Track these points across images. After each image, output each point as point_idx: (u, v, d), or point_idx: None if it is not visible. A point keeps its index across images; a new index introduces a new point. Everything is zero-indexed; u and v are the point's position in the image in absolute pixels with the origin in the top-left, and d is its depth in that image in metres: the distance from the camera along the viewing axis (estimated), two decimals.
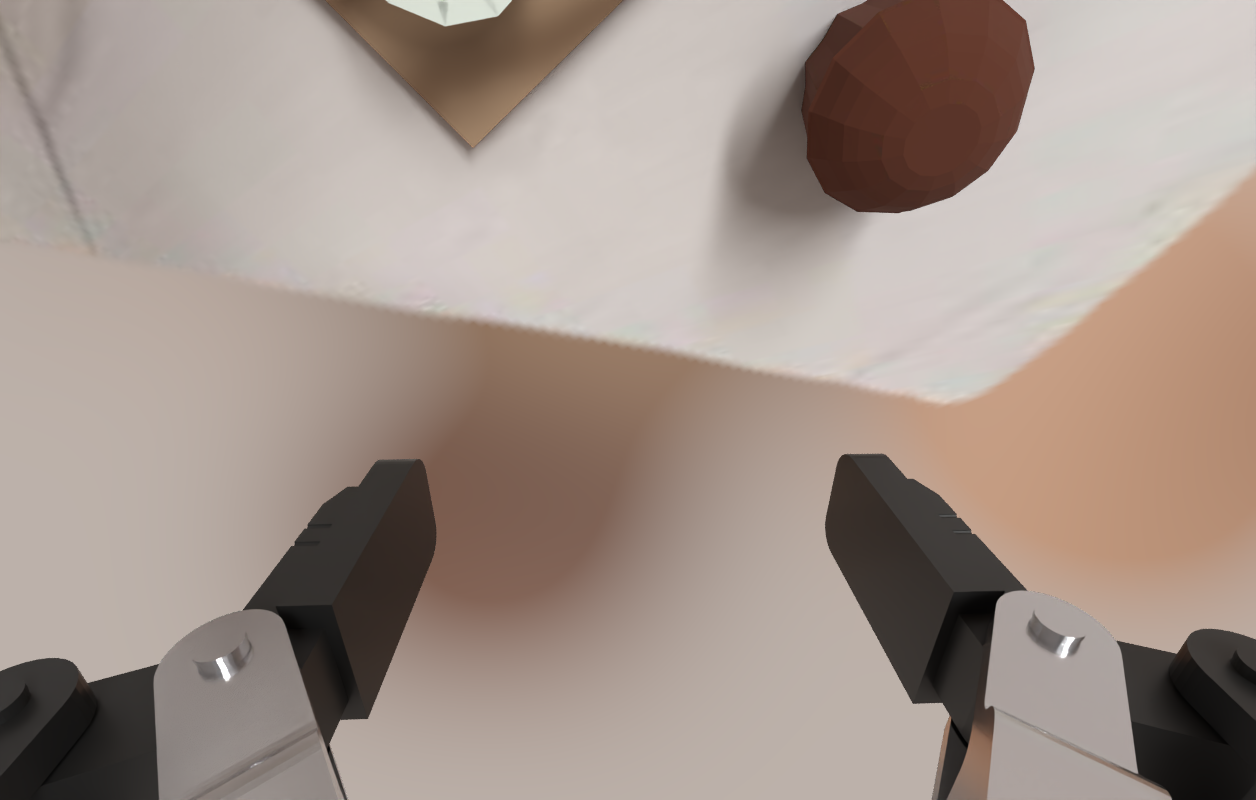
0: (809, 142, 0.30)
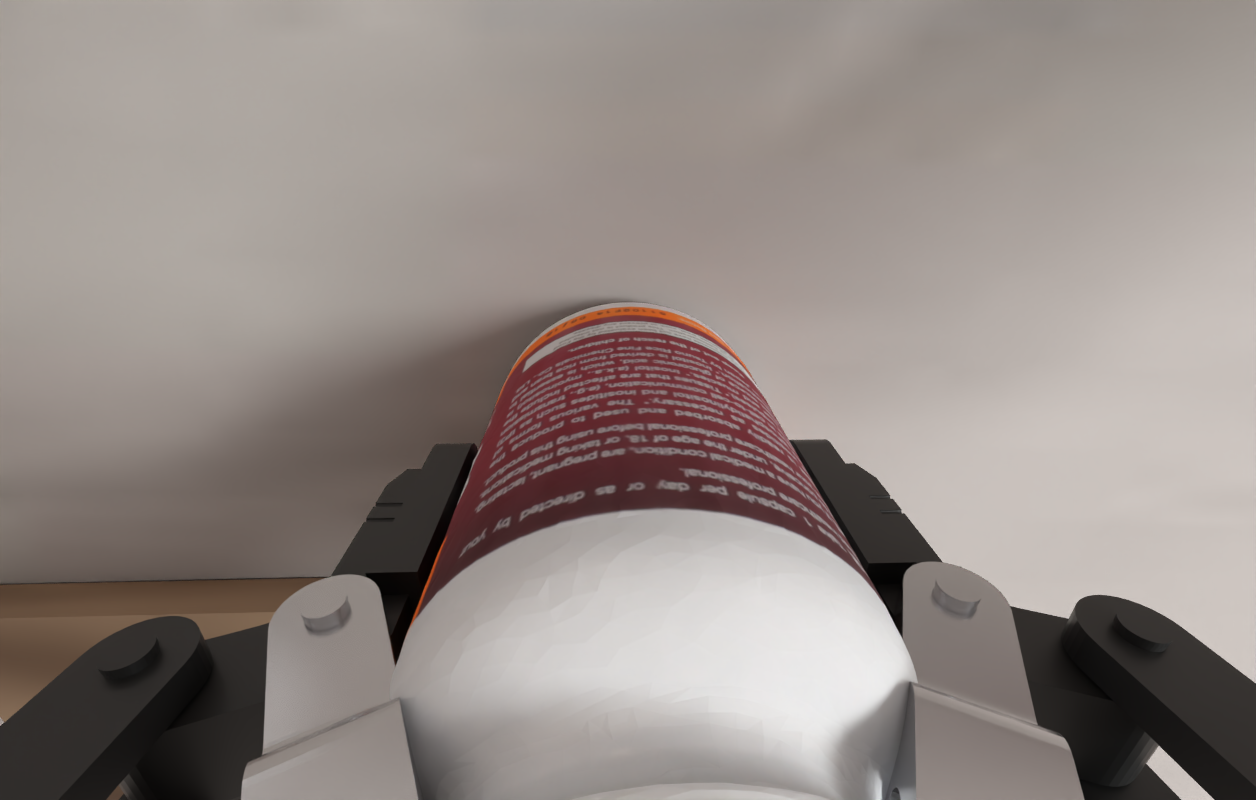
0: None
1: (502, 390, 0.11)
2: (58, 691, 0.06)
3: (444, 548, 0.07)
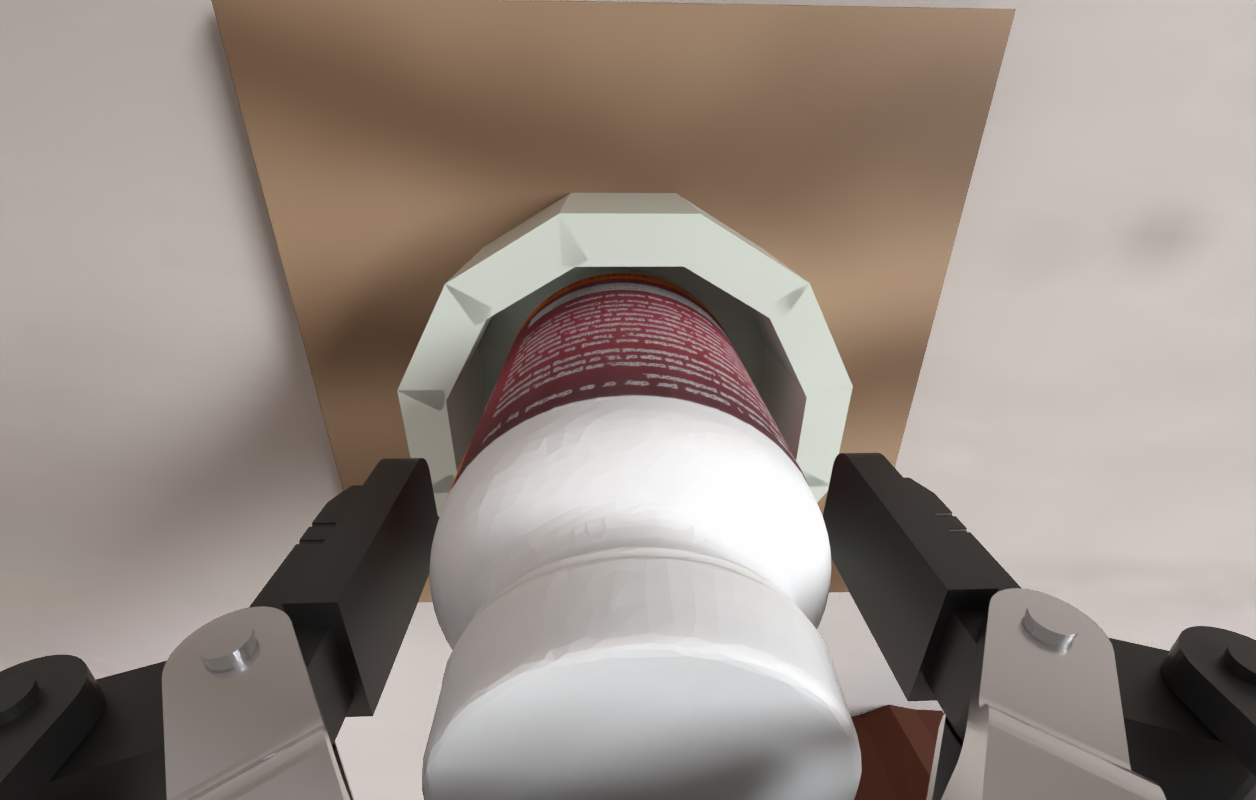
0: None
1: (512, 346, 0.13)
2: None
3: (470, 447, 0.09)
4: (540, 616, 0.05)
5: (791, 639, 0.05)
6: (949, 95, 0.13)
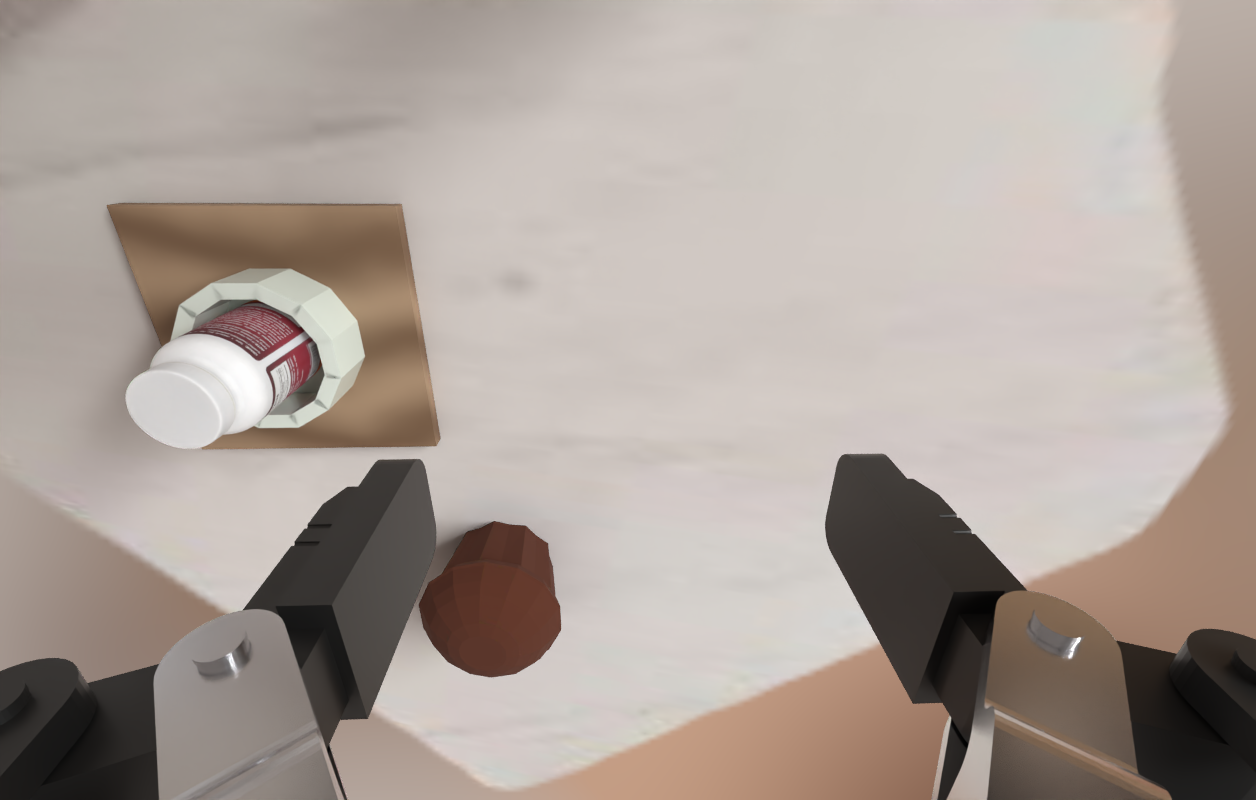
0: (423, 598, 0.43)
1: None
2: None
3: None
4: None
5: (196, 375, 0.28)
6: (383, 234, 0.36)
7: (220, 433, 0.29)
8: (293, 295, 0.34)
